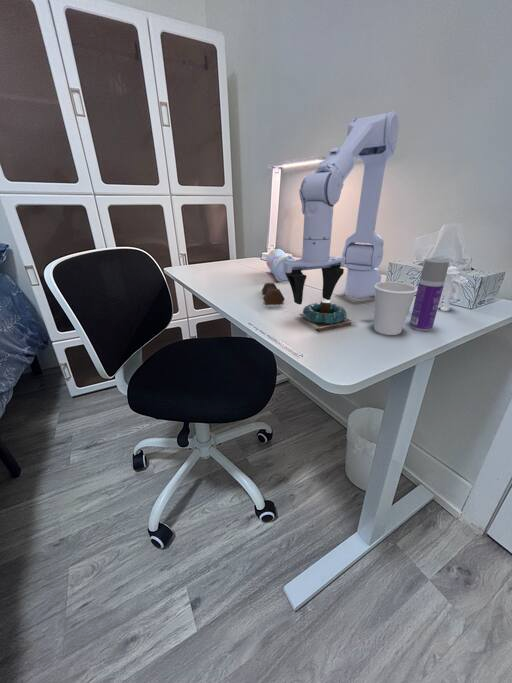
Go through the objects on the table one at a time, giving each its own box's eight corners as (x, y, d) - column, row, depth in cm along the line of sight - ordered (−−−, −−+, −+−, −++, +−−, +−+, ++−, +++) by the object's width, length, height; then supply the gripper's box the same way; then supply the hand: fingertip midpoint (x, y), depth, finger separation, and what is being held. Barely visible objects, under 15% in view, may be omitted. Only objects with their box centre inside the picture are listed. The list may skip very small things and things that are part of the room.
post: (328, 313, 76) (330, 294, 73) (351, 325, 68) (354, 304, 66) (298, 318, 73) (299, 298, 70) (318, 331, 65) (320, 309, 63)
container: (431, 332, 64) (449, 263, 57) (407, 328, 66) (423, 261, 59) (432, 325, 67) (450, 259, 61) (410, 322, 69) (425, 257, 63)
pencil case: (298, 283, 104) (299, 256, 100) (274, 284, 103) (274, 256, 99) (285, 271, 123) (286, 247, 119) (265, 271, 122) (265, 248, 118)
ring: (329, 308, 76) (330, 299, 74) (354, 321, 67) (355, 311, 66) (295, 313, 72) (295, 304, 71) (317, 328, 64) (318, 318, 63)
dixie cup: (384, 320, 71) (392, 279, 66) (416, 332, 64) (426, 288, 60) (359, 327, 67) (366, 284, 63) (389, 340, 60) (399, 294, 56)
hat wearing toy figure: (461, 312, 75) (476, 265, 70) (450, 314, 74) (464, 266, 69) (431, 302, 83) (442, 259, 77) (421, 304, 81) (431, 260, 76)
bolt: (270, 298, 94) (276, 312, 80) (257, 291, 93) (261, 304, 79) (279, 282, 92) (287, 294, 78) (266, 275, 91) (271, 285, 77)
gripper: (333, 234, 66) (328, 292, 72) (277, 238, 61) (276, 300, 67) (354, 237, 61) (346, 300, 66) (293, 242, 56) (291, 309, 61)
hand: (312, 300), depth 67 cm, fingers open, 7 cm apart
